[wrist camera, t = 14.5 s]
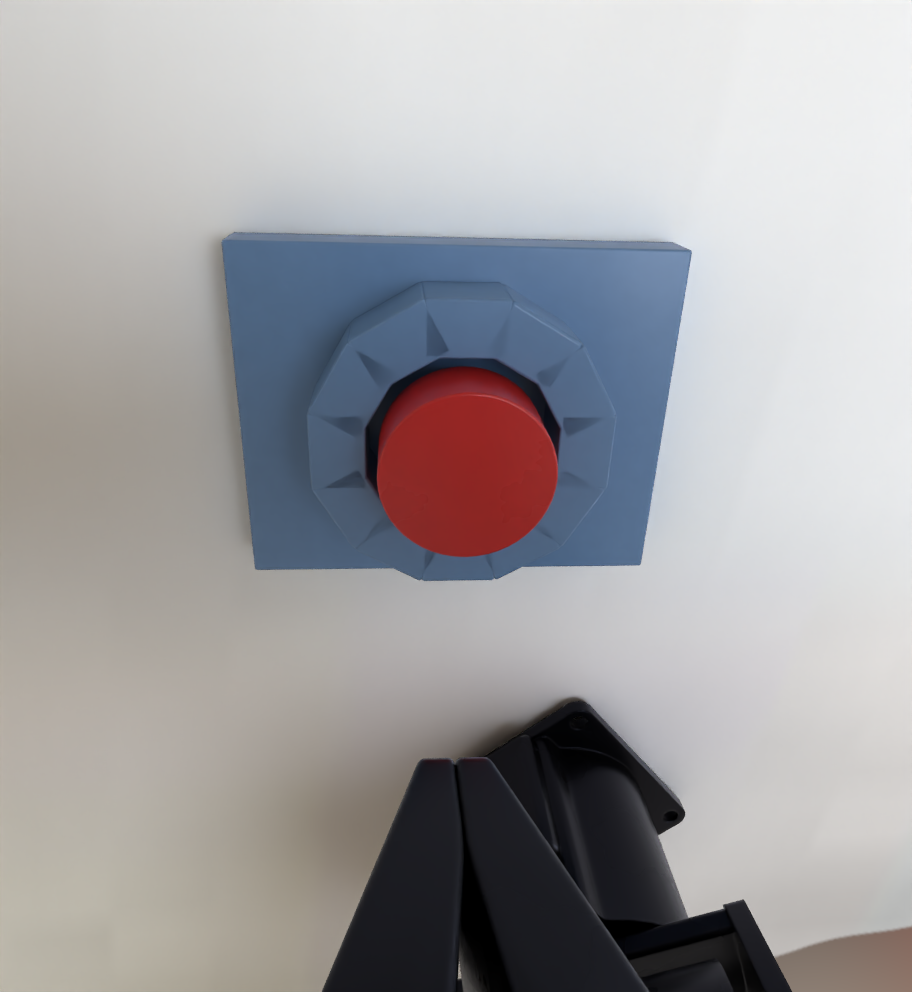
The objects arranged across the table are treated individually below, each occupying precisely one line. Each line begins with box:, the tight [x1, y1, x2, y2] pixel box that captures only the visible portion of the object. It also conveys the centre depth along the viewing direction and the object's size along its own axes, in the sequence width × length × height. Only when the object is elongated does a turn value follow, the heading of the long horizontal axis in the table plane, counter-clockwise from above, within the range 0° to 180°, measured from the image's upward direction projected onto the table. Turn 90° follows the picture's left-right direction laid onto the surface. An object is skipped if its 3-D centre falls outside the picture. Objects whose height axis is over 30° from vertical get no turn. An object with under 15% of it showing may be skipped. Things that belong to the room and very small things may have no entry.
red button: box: [377, 366, 558, 557], centre depth 16 cm, size 4×4×2 cm
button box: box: [222, 232, 692, 581], centre depth 17 cm, size 10×8×3 cm
